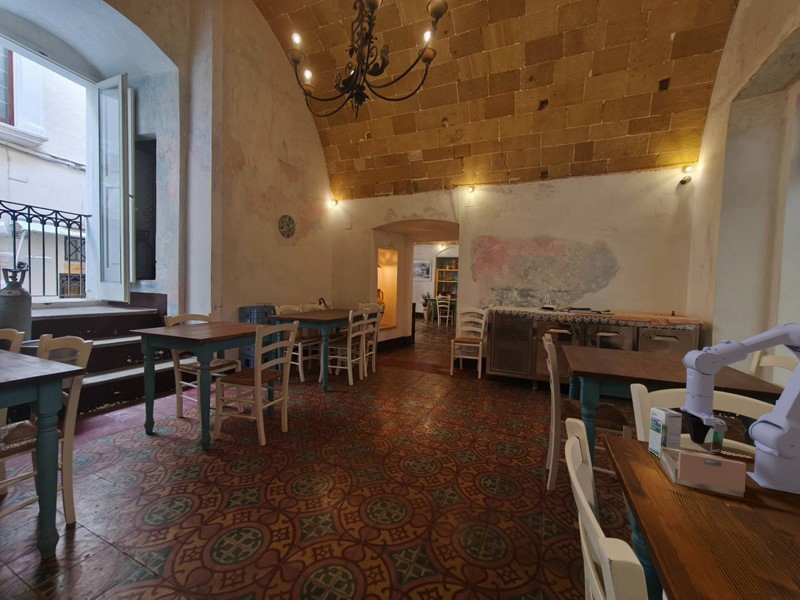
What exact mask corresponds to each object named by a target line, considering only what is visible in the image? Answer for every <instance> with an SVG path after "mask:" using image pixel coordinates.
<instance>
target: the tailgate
mask: <svg viewBox="0 0 800 600" xmlns="http://www.w3.org/2000/svg"><path fill="white" fill-rule="evenodd" d="M746 476H747V464H746V463H745V462H743V461H738V460H732V459H731V460H730V459H726V458H723V459H721V458H715V457H709V456H704V455H698V454H692V453H686V452H680V451H679V461H678V478H679V480H684V481H689V482H694V483H699V484H704V485H709V486H714V487H720V488H725V489H730V490H735V491H740V492H744V493H745V492H746Z"/></svg>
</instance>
